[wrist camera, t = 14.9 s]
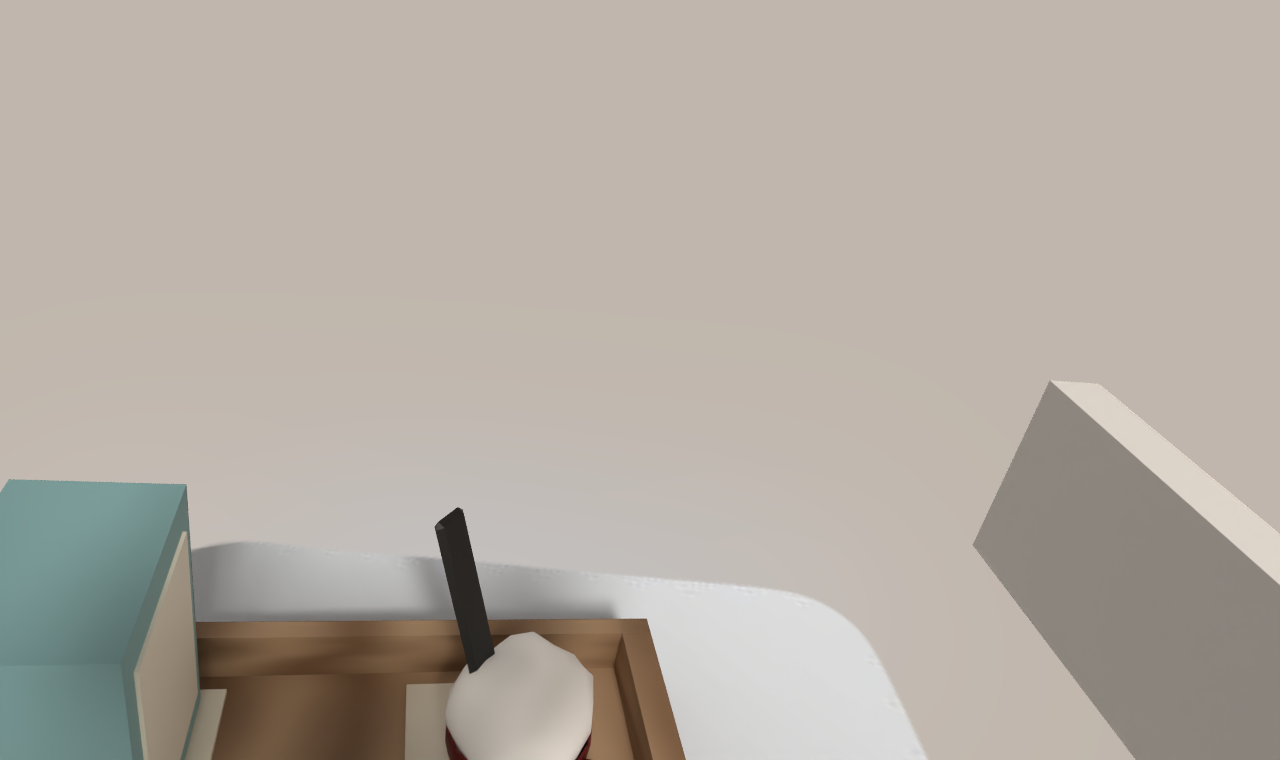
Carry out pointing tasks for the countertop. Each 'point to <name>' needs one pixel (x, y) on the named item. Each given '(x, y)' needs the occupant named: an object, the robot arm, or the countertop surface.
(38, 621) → the teal carton
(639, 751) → the tray
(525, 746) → the cocoa
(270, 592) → the countertop surface
